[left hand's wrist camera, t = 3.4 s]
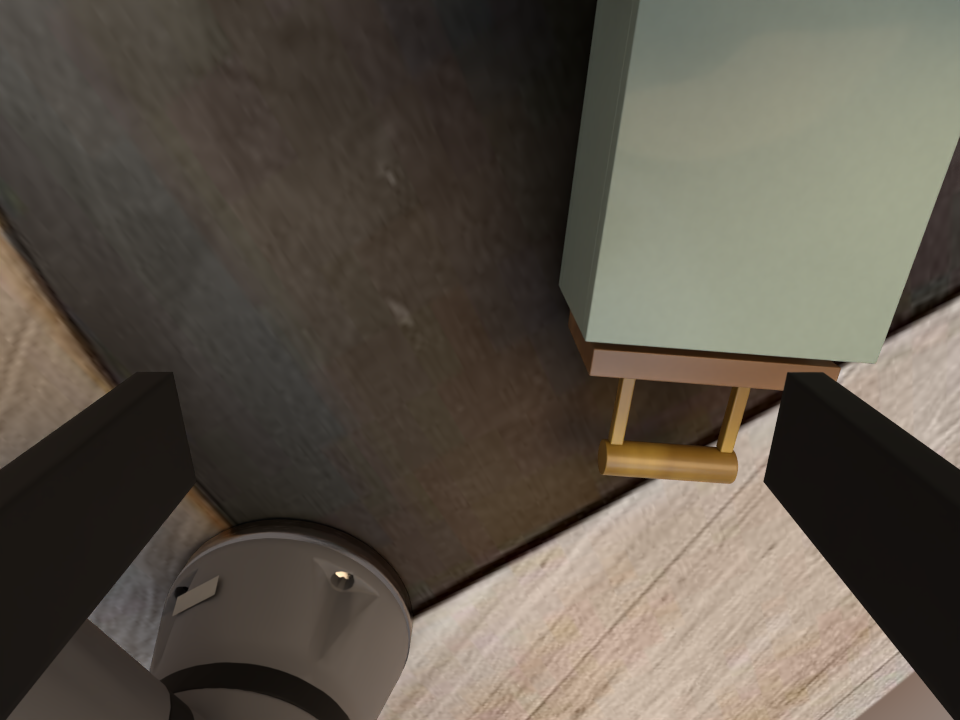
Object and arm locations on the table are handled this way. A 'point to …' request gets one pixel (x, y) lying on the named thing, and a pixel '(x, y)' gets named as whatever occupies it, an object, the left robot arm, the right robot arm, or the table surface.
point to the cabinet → (758, 171)
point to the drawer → (682, 368)
